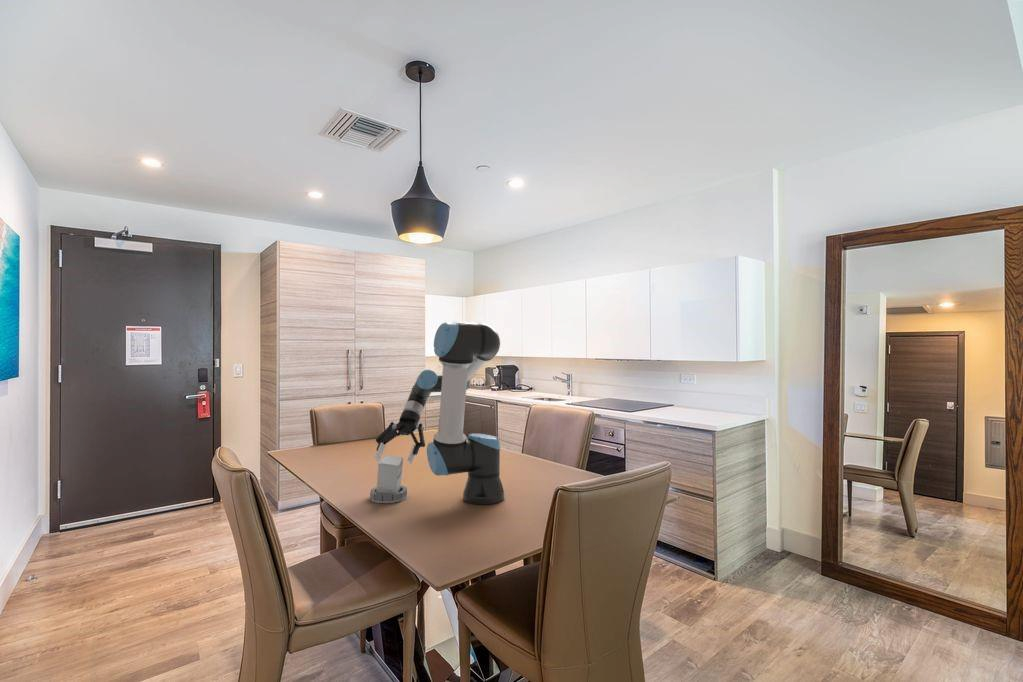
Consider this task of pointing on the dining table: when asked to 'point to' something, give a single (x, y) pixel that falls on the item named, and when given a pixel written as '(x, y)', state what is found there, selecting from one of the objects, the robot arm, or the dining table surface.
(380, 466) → the supplement box
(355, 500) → the dining table surface
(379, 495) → the round holder
